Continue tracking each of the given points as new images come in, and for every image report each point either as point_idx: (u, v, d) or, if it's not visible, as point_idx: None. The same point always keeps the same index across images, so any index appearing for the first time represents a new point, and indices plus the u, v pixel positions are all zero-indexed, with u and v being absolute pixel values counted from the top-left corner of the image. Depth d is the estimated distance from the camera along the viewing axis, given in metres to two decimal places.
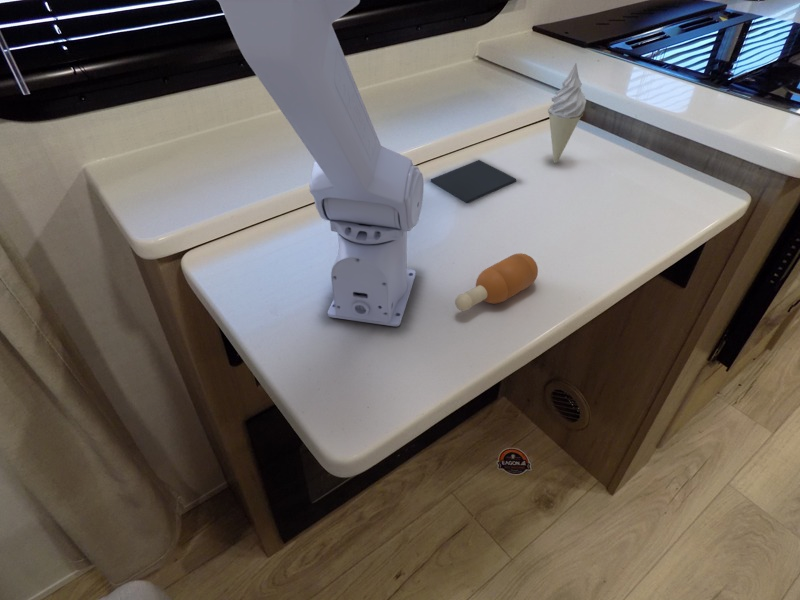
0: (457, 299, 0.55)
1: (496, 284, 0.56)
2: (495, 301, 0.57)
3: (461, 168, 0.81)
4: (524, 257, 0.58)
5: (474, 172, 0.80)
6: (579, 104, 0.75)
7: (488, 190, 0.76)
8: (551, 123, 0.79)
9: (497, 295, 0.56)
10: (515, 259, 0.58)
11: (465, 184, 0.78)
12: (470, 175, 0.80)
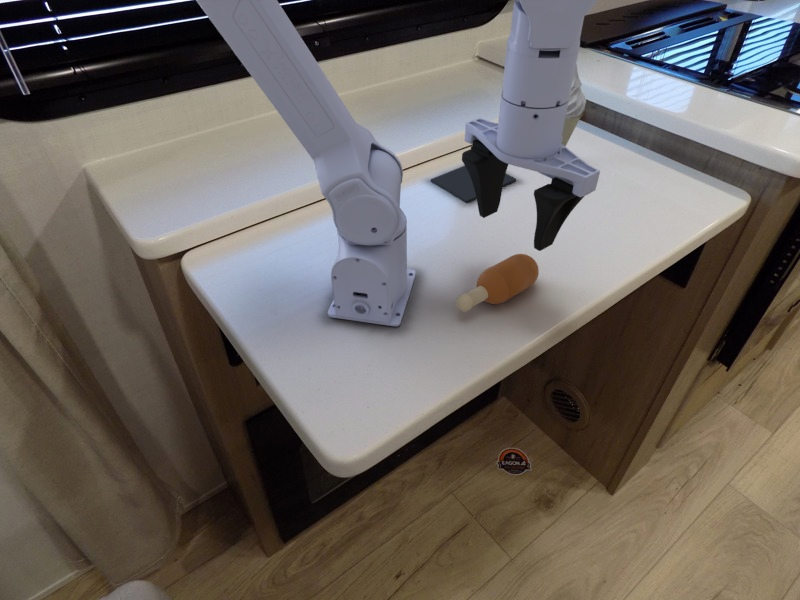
0: (458, 299, 0.55)
1: (497, 285, 0.56)
2: (495, 302, 0.57)
3: (461, 168, 0.81)
4: (526, 258, 0.58)
5: None
6: (579, 104, 0.75)
7: None
8: None
9: (498, 296, 0.56)
10: (516, 260, 0.58)
11: (465, 184, 0.78)
12: None
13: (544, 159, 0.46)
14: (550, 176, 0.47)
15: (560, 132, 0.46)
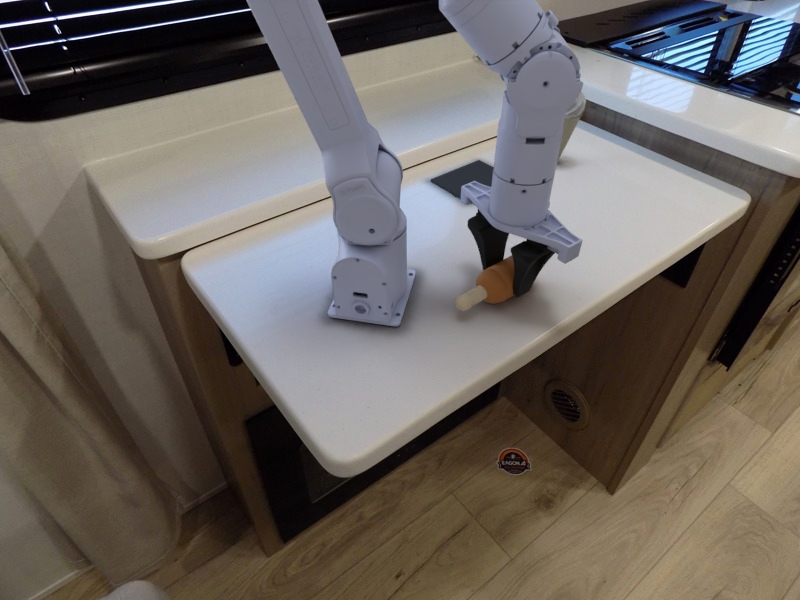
0: (457, 299, 0.55)
1: (496, 284, 0.56)
2: (495, 301, 0.57)
3: (461, 168, 0.81)
4: None
5: (474, 172, 0.80)
6: (579, 104, 0.75)
7: None
8: None
9: (497, 295, 0.56)
10: None
11: (465, 184, 0.78)
12: (470, 175, 0.80)
13: (532, 227, 0.51)
14: None
15: (546, 203, 0.50)
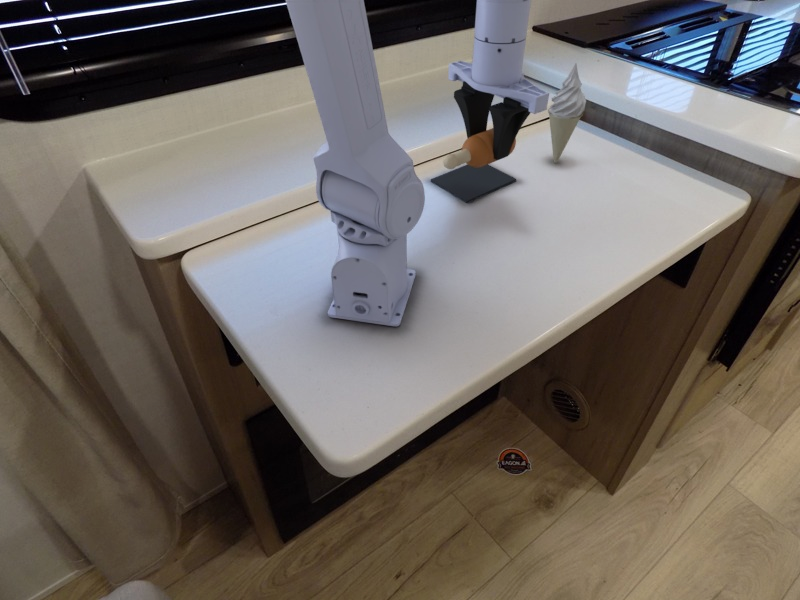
0: (444, 158, 0.64)
1: (478, 146, 0.65)
2: (478, 163, 0.66)
3: (461, 168, 0.81)
4: None
5: (474, 172, 0.80)
6: (579, 104, 0.75)
7: (488, 190, 0.76)
8: (551, 123, 0.79)
9: (479, 156, 0.65)
10: None
11: (465, 184, 0.78)
12: (470, 175, 0.80)
13: (507, 86, 0.60)
14: None
15: (519, 65, 0.59)
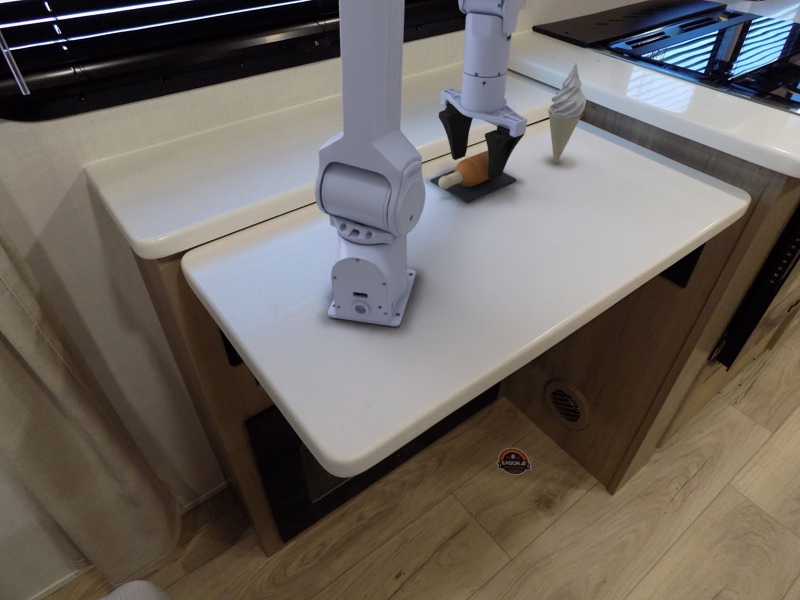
0: (440, 179, 0.74)
1: (470, 171, 0.74)
2: (467, 185, 0.76)
3: None
4: None
5: None
6: (579, 104, 0.75)
7: (488, 190, 0.76)
8: (551, 123, 0.79)
9: (470, 180, 0.75)
10: (486, 154, 0.76)
11: None
12: None
13: (491, 113, 0.69)
14: (496, 125, 0.70)
15: (502, 94, 0.69)
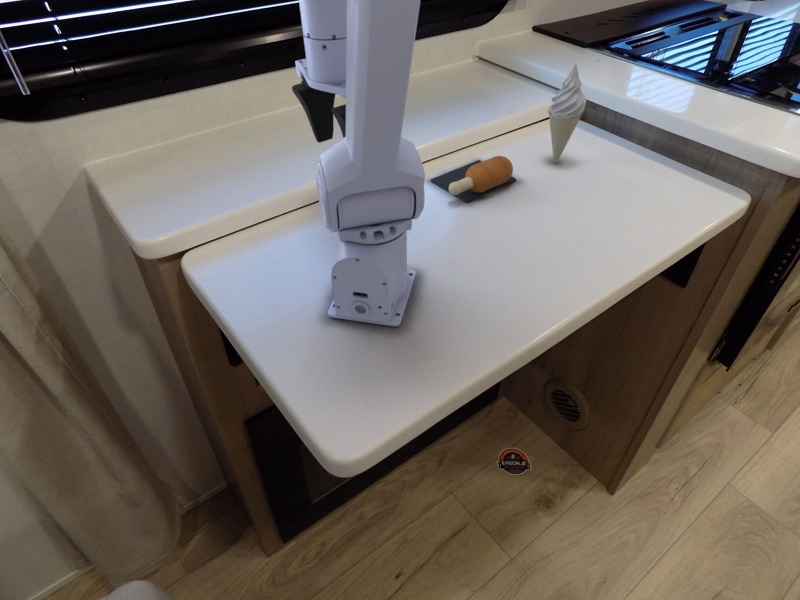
0: (453, 188, 0.72)
1: (481, 189, 0.74)
2: None
3: (461, 168, 0.81)
4: (509, 172, 0.75)
5: None
6: (579, 104, 0.75)
7: (488, 190, 0.76)
8: (551, 123, 0.79)
9: (475, 192, 0.75)
10: (504, 172, 0.75)
11: None
12: None
13: (340, 84, 0.59)
14: None
15: None
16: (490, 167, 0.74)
